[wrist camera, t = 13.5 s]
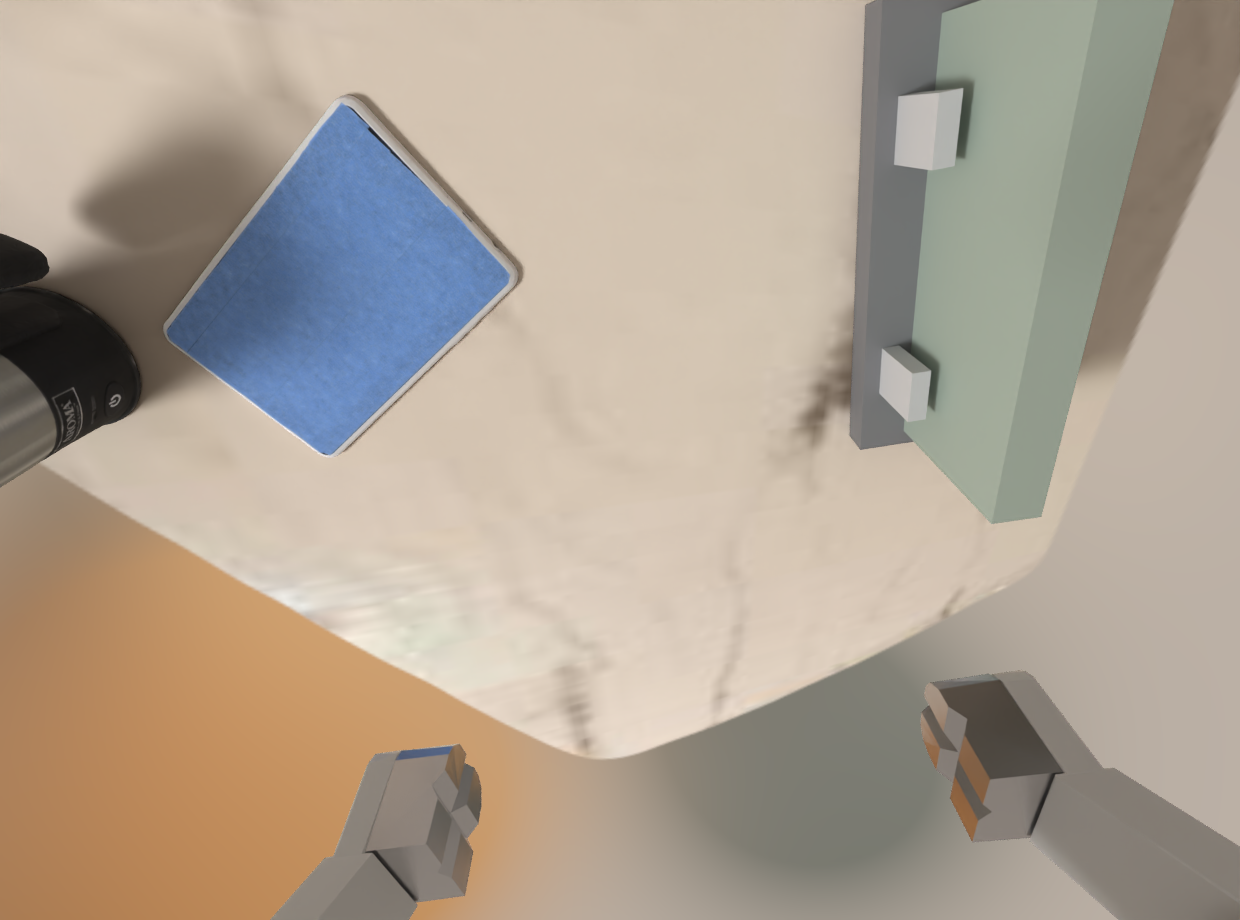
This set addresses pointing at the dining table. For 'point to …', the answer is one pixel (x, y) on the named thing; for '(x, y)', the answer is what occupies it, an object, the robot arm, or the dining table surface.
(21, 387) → the milk frother
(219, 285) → the tablet computer
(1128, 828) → the robot arm
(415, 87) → the dining table surface
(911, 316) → the hinge base
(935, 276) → the cabinet door
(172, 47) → the dining table surface
